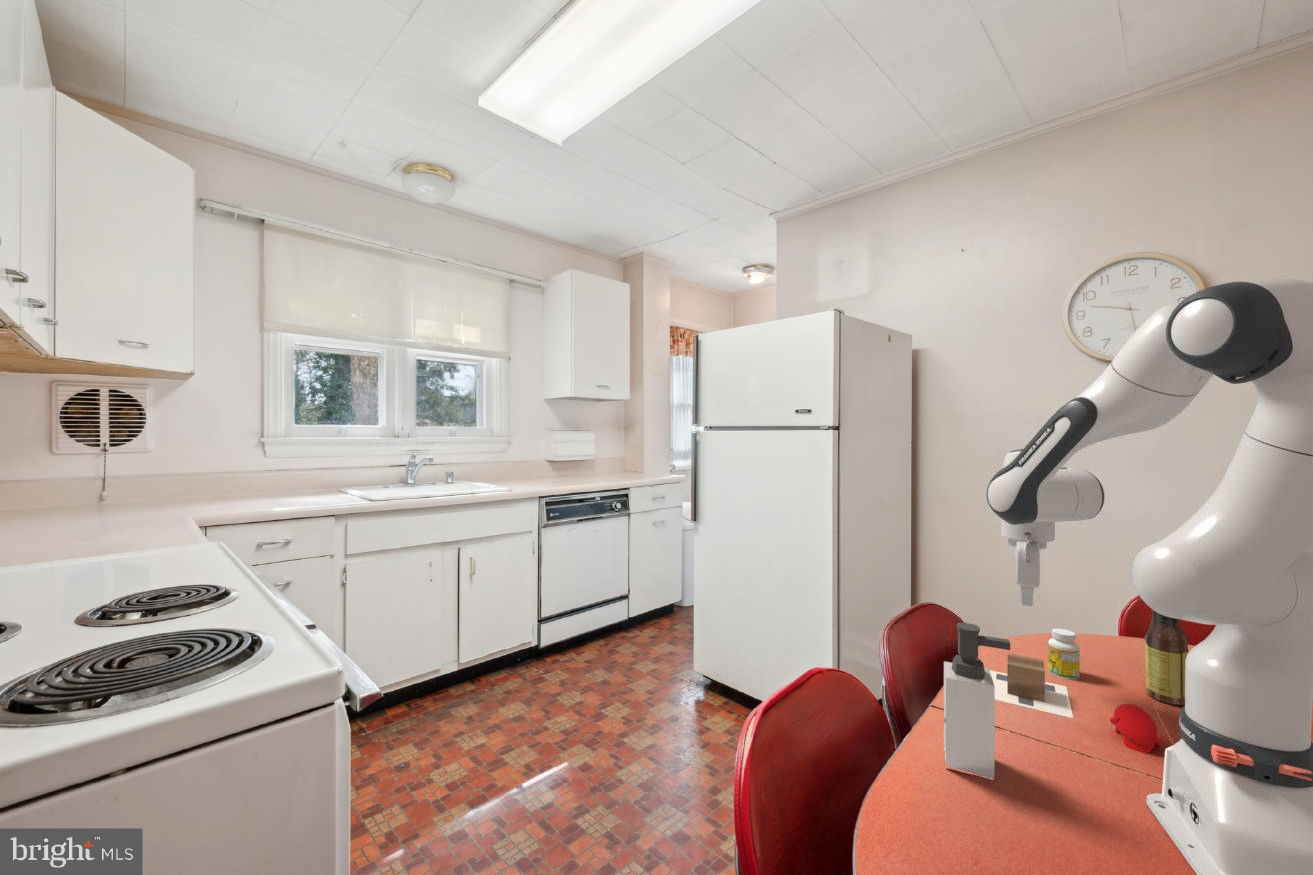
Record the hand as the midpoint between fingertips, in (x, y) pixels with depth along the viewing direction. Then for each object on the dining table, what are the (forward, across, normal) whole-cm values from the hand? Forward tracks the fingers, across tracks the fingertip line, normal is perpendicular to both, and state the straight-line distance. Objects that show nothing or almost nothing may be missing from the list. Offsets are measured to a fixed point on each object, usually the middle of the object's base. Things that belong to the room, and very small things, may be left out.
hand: (1026, 597), depth 105 cm
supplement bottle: (+20, +14, -7) cm, 25 cm away
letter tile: (+20, 0, 0) cm, 20 cm away
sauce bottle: (+20, +13, -23) cm, 33 cm away
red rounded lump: (+20, -10, -15) cm, 27 cm away
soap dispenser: (+20, -31, +7) cm, 38 cm away
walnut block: (+19, 0, 0) cm, 19 cm away
